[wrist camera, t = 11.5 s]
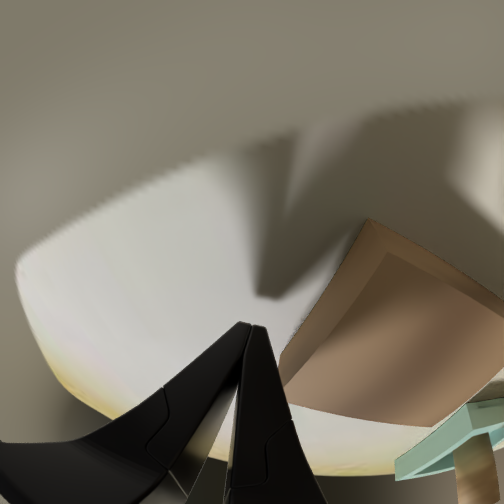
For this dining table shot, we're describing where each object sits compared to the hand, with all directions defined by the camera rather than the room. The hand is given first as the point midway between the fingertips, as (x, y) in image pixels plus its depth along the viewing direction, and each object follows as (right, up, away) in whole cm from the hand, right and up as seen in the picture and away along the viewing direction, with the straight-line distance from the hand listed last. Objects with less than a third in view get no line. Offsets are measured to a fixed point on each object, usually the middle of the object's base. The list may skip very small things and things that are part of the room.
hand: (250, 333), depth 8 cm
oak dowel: (+16, -11, +3) cm, 20 cm away
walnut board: (+6, 0, +1) cm, 6 cm away
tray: (+16, -11, +4) cm, 20 cm away
